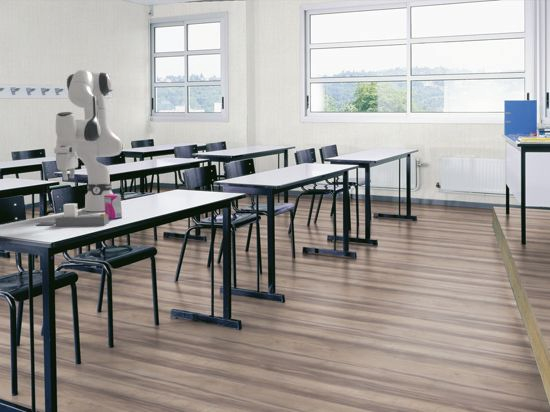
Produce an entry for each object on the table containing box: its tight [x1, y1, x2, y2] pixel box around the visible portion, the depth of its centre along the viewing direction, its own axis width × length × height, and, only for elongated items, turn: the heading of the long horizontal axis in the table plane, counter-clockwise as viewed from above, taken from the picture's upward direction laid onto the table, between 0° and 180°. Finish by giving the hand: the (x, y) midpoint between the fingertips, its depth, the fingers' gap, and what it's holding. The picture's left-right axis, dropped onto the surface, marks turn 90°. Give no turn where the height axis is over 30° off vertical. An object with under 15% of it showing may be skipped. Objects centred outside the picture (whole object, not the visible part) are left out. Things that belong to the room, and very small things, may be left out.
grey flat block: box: [54, 212, 112, 227], centre depth 304 cm, size 16×22×5 cm
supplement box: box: [104, 193, 123, 220], centre depth 317 cm, size 6×6×12 cm
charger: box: [62, 203, 79, 217], centre depth 300 cm, size 4×5×7 cm
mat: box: [35, 221, 55, 227], centre depth 302 cm, size 7×7×1 cm
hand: (68, 179), depth 297 cm, fingers open, 8 cm apart
